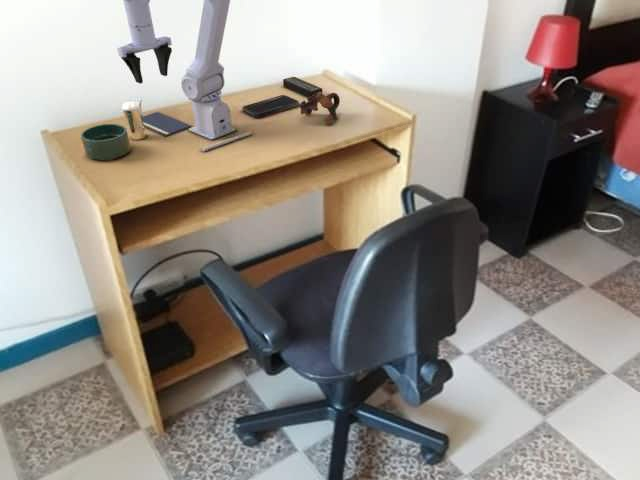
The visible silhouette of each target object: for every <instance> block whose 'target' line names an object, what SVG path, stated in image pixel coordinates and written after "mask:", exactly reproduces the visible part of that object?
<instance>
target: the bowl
mask: <svg viewBox="0 0 640 480" xmlns="http://www.w3.org/2000/svg"><path fill="white" fill-rule="evenodd" d="M80 138H81V142H82V144H83V149H84V151H85V155H86V156H87V157H88V158H90V159H92V160H98V161H108V160H115V159H118V158H121V157H123V156H124V155H127V154H128V153H129V152H130V151H131V149H132V146H131V142H130V138H129V133H128V129H127V127H125V126H124V125H121V124H118V123H103V124H97V125H94V126H91V127H88V128H86V129H84V130H83V131H82V132H81V133H80Z"/></svg>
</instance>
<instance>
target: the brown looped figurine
mask: <svg viewBox="0 0 640 480" xmlns="http://www.w3.org/2000/svg"><path fill="white" fill-rule="evenodd" d="M332 100H333V101H332ZM340 102H341V99H340V96H339V94H338V93H336V92H331V93H329V94H327V95H324V94H323V91H322V92H318V93H316V94H314V95H312V96H311V97H309V98H307V101H306V100H303V101H302V102H301V103H300V104H299V106H298V107H299V108H300V115H305V116H310V115H311V114H312V112H313V111H314V112H317V111H319V108H318V104H320V105H321V107H322V108H324V109H327V110H328V112H329V114H328V115H327V116H326V117H325V119H324V120H325V121H326V124H327V125H328V126H330V125H332V124H334V123H335V122H336V121H337V120H338V116H337V109H338V108H339V106H340Z"/></svg>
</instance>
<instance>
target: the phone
mask: <svg viewBox="0 0 640 480" xmlns="http://www.w3.org/2000/svg"><path fill="white" fill-rule="evenodd" d="M299 103H300V102H299V100H298V99H296V98H293V97H291V96H288V95H285V94H280V95H277V96H274V97H270V98H267V99H264V100H260V101H257V102H253V103H250V104H247V105H243V106H242V112H243V113H245V114H246V115H249V116H251V117H253V118H255V119H261V118H265V117H267V116H271V115H274V114H276V113H280V112H283V111H286V110H289V109H293V108H296V107H299V105H300V104H299Z"/></svg>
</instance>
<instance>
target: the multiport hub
mask: <svg viewBox="0 0 640 480" xmlns="http://www.w3.org/2000/svg"><path fill="white" fill-rule="evenodd" d="M282 83H283V88H285V89H287V90H290V91H292V92H294V93H296V94H298V95H301V96H303V97H305V98H307V99H308V98H309V97H311V96H312V95H314V94H316V93H318V92H322V93H323V88H322V87H320V86H317V85H315V84H313V83H310V82H308V81H306V80H303V79H301V78H298V77H296V76H291V77H287V78H283V79H282Z"/></svg>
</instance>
